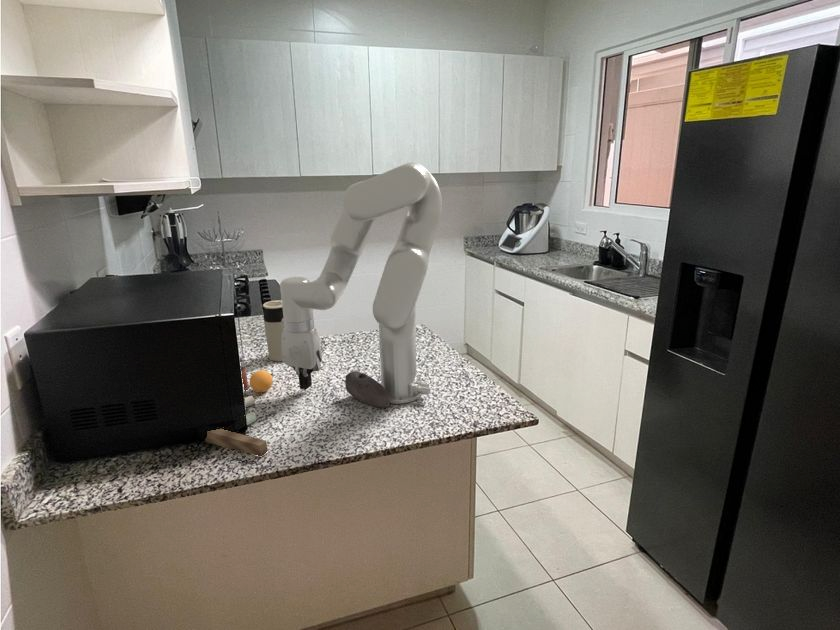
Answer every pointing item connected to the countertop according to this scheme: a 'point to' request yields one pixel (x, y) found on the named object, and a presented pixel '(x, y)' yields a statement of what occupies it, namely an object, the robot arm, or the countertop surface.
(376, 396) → the perforated stone tool
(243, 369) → the lighter
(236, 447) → the wall
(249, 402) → the ivory pin
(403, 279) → the robot arm
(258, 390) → the ball
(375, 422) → the countertop surface
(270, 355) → the travel mug
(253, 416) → the sage pin
